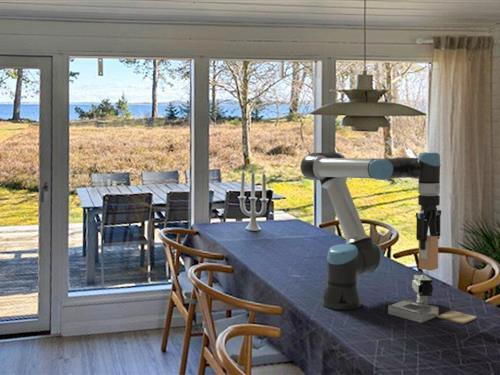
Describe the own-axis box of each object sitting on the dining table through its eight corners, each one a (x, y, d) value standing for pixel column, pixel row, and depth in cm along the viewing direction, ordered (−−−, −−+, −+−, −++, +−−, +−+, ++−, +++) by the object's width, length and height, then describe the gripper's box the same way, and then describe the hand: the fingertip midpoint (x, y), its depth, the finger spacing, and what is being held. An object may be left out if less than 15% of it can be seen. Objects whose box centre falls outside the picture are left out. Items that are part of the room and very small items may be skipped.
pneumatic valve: (422, 299, 236) (423, 271, 235) (432, 308, 224) (433, 278, 223) (409, 299, 236) (410, 271, 234) (418, 308, 224) (419, 278, 223)
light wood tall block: (418, 268, 213) (418, 236, 212) (426, 266, 217) (426, 234, 216) (430, 270, 210) (430, 237, 209) (438, 268, 213) (438, 235, 212)
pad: (437, 317, 214) (438, 315, 214) (451, 311, 220) (451, 310, 220) (463, 324, 206) (463, 322, 206) (476, 318, 213) (476, 316, 213)
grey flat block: (388, 313, 218) (388, 305, 217) (405, 307, 226) (405, 298, 226) (421, 322, 208) (421, 314, 207) (438, 315, 216) (438, 307, 215)
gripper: (424, 197, 202) (423, 262, 204) (451, 193, 214) (450, 255, 216) (406, 195, 208) (405, 259, 210) (433, 192, 220) (432, 252, 222)
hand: (428, 257), depth 213 cm, fingers closed on light wood tall block, 5 cm apart
